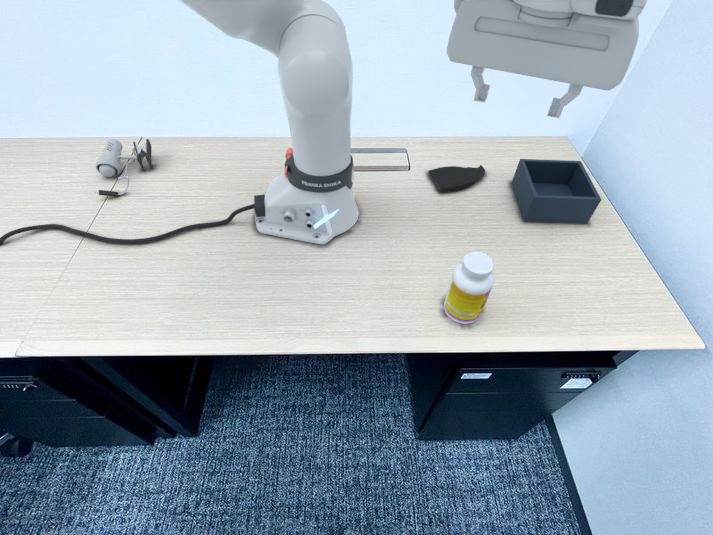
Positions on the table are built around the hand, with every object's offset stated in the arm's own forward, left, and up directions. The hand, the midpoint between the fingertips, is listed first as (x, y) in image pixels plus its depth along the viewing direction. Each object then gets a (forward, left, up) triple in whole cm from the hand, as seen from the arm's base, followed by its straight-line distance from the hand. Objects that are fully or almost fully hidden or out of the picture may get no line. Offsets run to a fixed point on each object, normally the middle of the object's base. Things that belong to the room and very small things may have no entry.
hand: (515, 107), depth 52 cm
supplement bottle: (-1, -9, -34) cm, 35 cm away
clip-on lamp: (-78, +26, -34) cm, 89 cm away
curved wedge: (+2, +29, -34) cm, 44 cm away
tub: (+22, +22, -33) cm, 45 cm away
